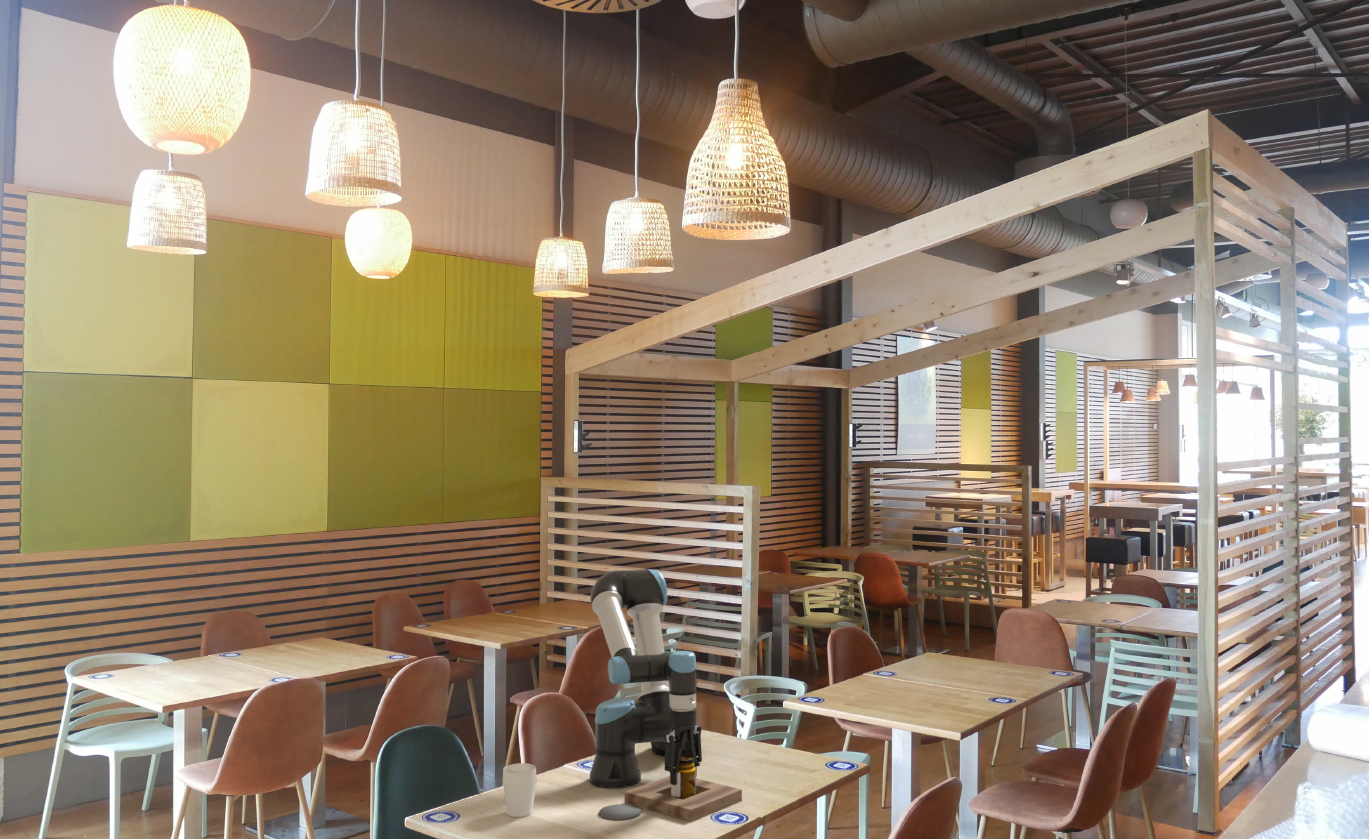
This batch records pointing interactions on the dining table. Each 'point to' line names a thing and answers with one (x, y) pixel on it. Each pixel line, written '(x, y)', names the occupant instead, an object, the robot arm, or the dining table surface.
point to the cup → (519, 788)
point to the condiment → (687, 777)
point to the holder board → (690, 808)
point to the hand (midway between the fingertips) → (683, 792)
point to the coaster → (620, 812)
